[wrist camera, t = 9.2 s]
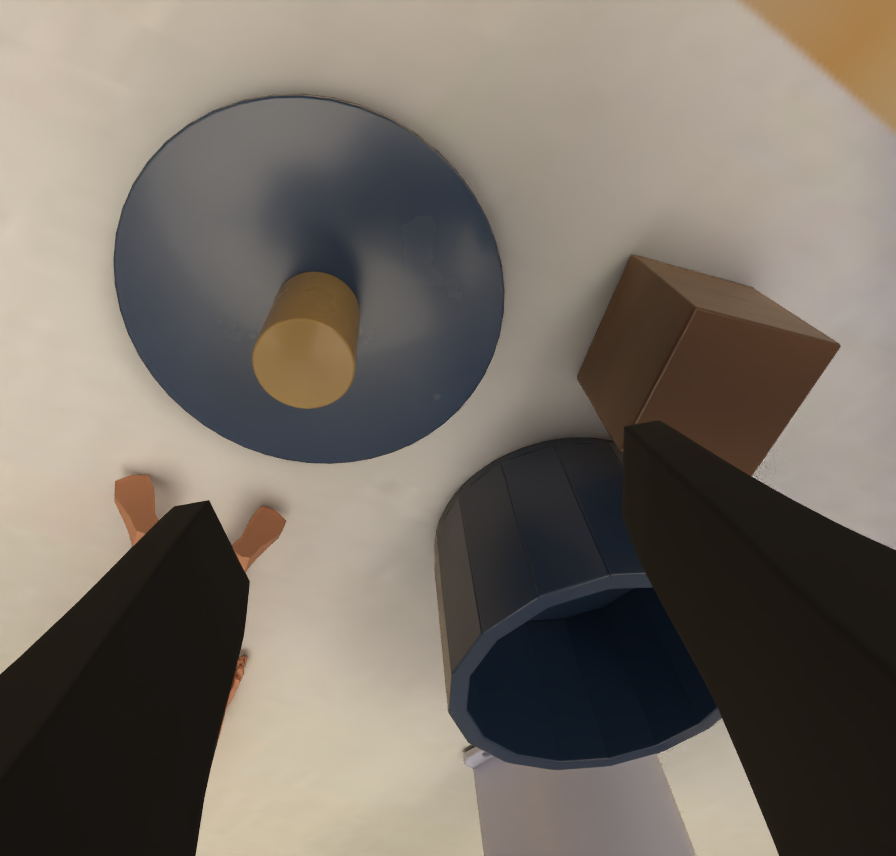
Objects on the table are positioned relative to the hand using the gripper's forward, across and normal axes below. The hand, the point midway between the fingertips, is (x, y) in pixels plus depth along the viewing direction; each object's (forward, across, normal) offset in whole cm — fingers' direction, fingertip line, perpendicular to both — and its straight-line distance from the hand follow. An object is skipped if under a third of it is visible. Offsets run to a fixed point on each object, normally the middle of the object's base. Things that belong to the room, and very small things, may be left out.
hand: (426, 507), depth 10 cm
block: (+9, -8, +2) cm, 13 cm away
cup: (+9, -4, +11) cm, 15 cm away
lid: (+9, +2, -1) cm, 9 cm away
